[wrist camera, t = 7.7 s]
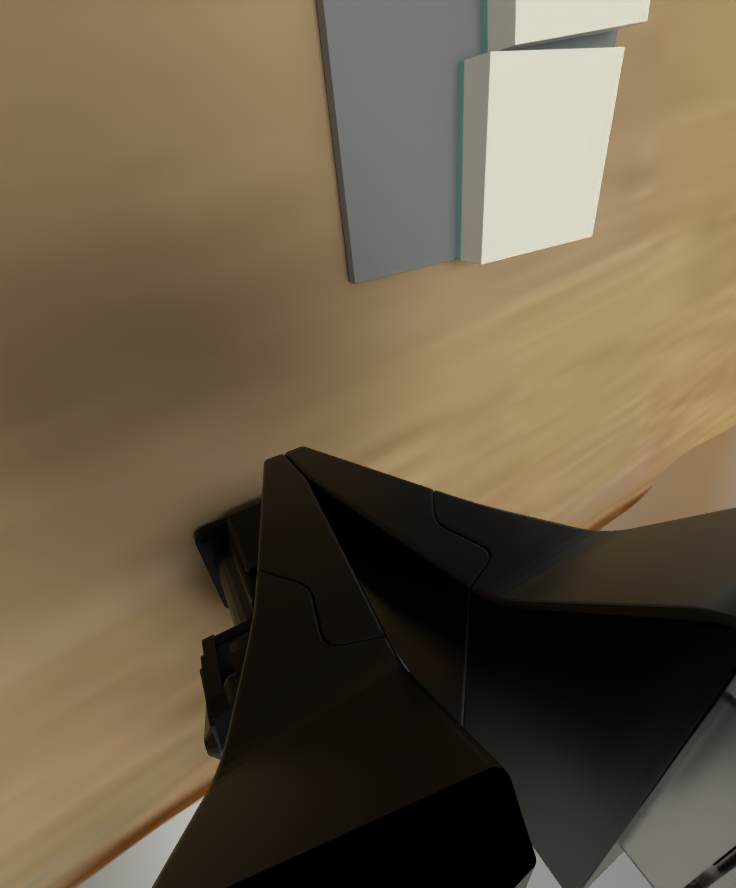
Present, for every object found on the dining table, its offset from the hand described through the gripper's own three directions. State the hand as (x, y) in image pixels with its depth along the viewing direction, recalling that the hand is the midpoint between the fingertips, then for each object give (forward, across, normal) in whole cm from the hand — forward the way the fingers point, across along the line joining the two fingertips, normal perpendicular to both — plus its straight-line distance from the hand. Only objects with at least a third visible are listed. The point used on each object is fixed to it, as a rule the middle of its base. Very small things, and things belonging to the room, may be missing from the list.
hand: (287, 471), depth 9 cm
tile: (+11, -14, -4) cm, 19 cm away
